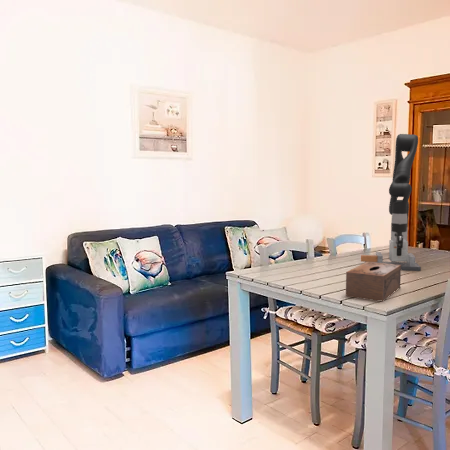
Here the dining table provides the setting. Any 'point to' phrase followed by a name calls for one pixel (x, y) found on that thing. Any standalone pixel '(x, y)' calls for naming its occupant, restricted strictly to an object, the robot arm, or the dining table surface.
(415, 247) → the dining table surface
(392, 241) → the small box
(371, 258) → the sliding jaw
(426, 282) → the dining table surface
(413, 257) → the vise
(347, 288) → the tissue box cover
